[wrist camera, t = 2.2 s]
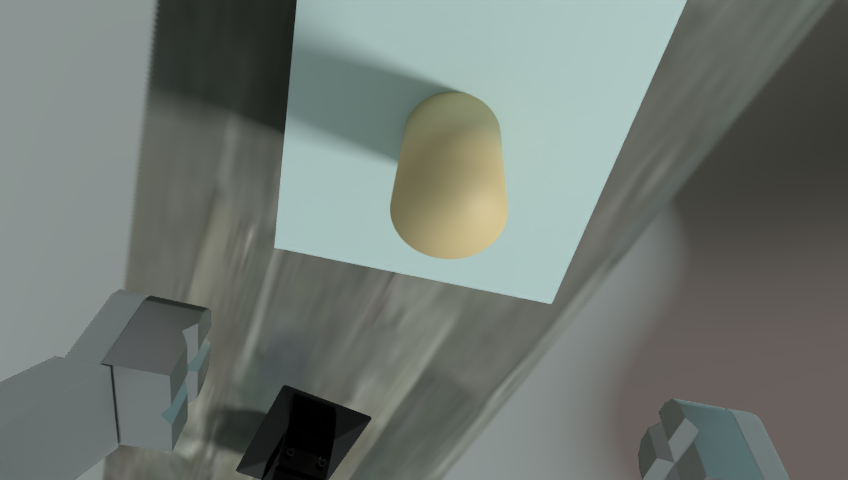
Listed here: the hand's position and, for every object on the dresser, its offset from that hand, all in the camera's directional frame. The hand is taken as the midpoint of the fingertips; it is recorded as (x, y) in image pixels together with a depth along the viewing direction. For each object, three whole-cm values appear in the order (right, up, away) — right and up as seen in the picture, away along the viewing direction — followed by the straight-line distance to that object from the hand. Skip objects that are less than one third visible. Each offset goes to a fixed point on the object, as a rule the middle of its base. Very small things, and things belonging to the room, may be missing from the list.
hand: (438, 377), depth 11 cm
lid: (+1, +6, +8) cm, 10 cm away
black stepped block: (-8, -10, +28) cm, 30 cm away
